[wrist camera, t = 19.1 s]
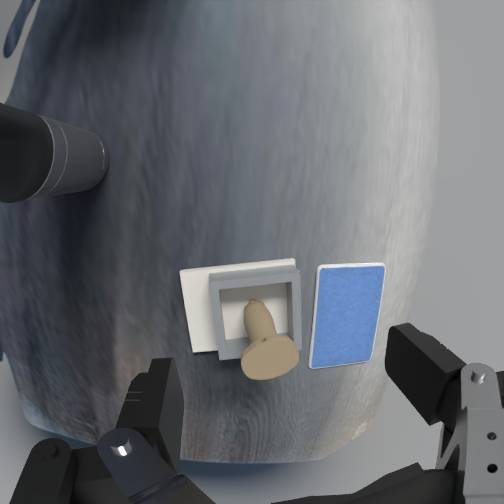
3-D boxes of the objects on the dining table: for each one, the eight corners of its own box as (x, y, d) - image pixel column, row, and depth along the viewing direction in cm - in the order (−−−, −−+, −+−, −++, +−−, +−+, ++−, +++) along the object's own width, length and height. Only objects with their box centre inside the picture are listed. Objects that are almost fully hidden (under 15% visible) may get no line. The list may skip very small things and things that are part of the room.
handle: (278, 314, 48) (302, 367, 34) (239, 327, 48) (249, 385, 34) (270, 287, 47) (292, 333, 33) (229, 300, 47) (235, 352, 32)
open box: (193, 348, 50) (191, 365, 45) (180, 269, 46) (176, 280, 41) (295, 336, 51) (303, 352, 46) (293, 258, 48) (301, 267, 43)
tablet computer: (368, 358, 55) (371, 362, 54) (306, 367, 54) (308, 371, 52) (383, 261, 50) (387, 263, 49) (315, 263, 49) (317, 266, 48)
